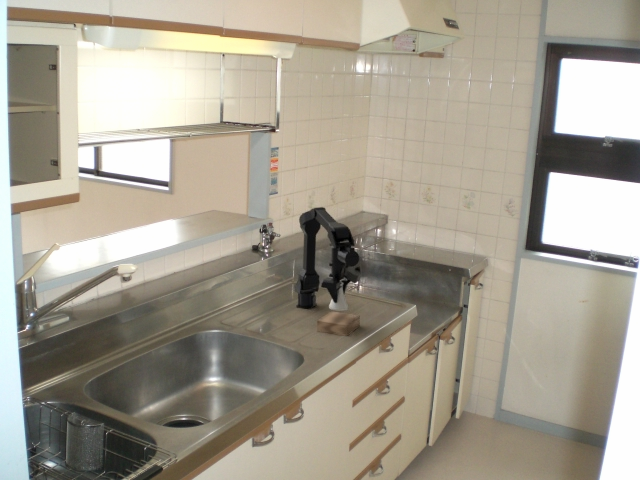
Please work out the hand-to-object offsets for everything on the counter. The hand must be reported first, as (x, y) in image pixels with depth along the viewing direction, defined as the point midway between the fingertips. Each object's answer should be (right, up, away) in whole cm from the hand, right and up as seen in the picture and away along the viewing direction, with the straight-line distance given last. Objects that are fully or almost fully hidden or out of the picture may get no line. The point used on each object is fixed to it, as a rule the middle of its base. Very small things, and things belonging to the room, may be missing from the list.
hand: (338, 300), depth 257 cm
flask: (0, -3, +1) cm, 3 cm away
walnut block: (0, -10, +2) cm, 11 cm away
